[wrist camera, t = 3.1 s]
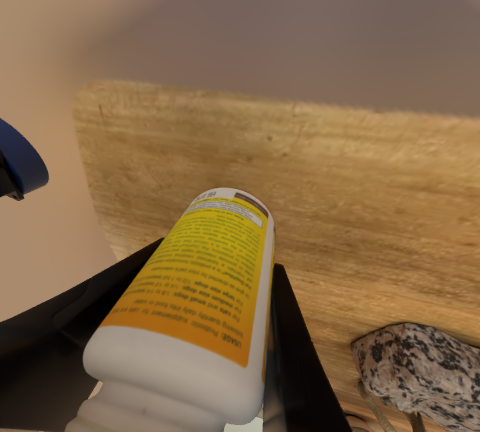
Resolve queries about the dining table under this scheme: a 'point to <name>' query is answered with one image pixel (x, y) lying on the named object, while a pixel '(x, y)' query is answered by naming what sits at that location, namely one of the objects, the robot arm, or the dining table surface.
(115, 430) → the supplement bottle
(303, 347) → the robot arm
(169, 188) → the dining table surface
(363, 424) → the ball
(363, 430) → the dinosaur figurine
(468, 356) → the rock
